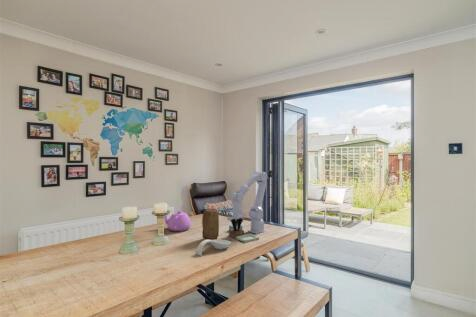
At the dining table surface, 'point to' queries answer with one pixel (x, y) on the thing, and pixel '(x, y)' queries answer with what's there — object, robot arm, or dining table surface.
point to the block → (210, 224)
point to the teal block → (232, 227)
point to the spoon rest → (216, 243)
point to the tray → (247, 238)
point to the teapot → (178, 221)
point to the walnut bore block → (236, 233)
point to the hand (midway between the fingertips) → (236, 229)
